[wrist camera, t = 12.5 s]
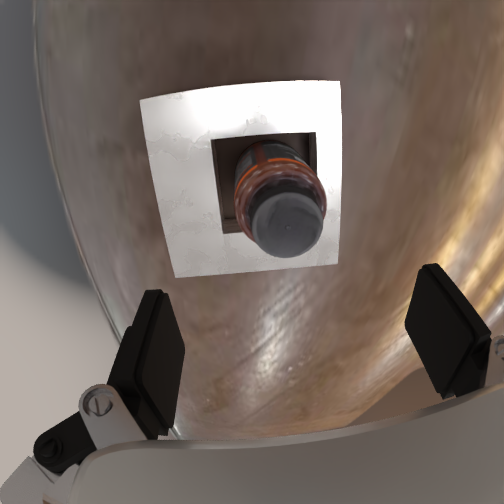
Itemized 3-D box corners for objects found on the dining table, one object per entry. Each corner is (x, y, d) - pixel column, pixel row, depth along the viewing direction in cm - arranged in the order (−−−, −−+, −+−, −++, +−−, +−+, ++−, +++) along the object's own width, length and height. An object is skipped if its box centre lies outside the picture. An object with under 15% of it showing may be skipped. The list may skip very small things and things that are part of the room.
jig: (329, 81, 22) (339, 81, 20) (329, 247, 30) (337, 263, 28) (150, 98, 22) (139, 100, 20) (180, 260, 30) (175, 277, 28)
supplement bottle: (234, 202, 28) (230, 273, 18) (235, 137, 25) (231, 172, 15) (300, 204, 28) (331, 274, 18) (305, 140, 25) (347, 177, 15)
